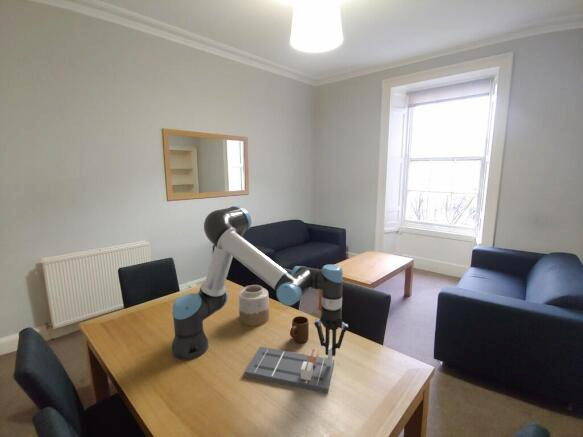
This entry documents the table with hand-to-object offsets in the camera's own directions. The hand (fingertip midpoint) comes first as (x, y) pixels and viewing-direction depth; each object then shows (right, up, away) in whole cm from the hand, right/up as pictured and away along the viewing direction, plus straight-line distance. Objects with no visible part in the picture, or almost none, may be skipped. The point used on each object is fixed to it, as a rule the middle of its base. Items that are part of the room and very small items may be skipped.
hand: (330, 362), depth 114 cm
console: (-16, -4, +1) cm, 16 cm away
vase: (-35, +3, +39) cm, 52 cm away
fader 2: (-7, -1, +2) cm, 7 cm away
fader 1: (-9, -2, -5) cm, 11 cm away
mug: (-12, 0, +19) cm, 23 cm away
